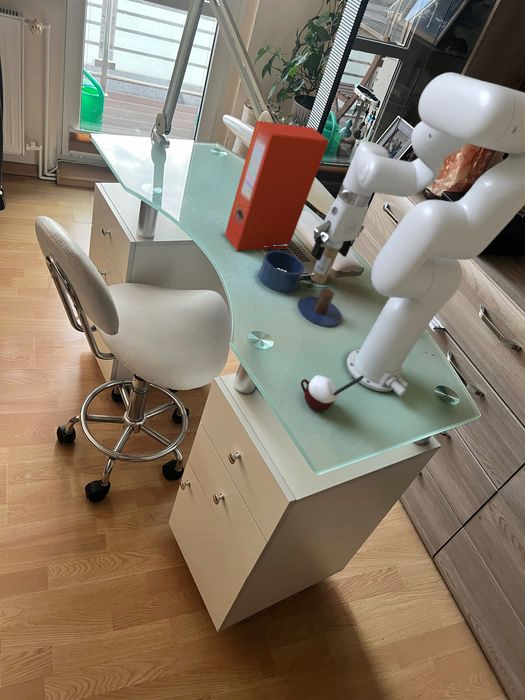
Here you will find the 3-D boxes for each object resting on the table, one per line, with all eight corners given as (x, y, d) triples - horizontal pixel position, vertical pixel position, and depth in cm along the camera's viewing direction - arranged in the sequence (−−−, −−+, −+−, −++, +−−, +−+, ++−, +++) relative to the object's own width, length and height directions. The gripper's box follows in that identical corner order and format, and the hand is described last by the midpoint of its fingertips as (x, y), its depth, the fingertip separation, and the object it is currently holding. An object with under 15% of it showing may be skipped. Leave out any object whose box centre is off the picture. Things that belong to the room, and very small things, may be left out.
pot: (303, 291, 131) (312, 271, 127) (273, 297, 125) (280, 276, 121) (280, 268, 136) (288, 248, 132) (250, 273, 130) (257, 252, 126)
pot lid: (348, 324, 126) (359, 303, 122) (315, 332, 119) (326, 311, 115) (320, 296, 131) (329, 276, 127) (287, 303, 125) (296, 281, 121)
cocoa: (292, 391, 101) (312, 349, 94) (315, 385, 105) (336, 343, 97) (319, 427, 96) (343, 384, 89) (342, 418, 100) (367, 377, 92)
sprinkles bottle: (328, 284, 137) (347, 242, 129) (315, 286, 135) (334, 243, 126) (318, 274, 140) (336, 232, 131) (306, 276, 137) (324, 233, 129)
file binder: (288, 249, 145) (328, 140, 125) (237, 251, 136) (272, 134, 116) (274, 234, 150) (311, 126, 130) (224, 235, 141) (255, 119, 121)
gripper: (339, 205, 114) (313, 267, 125) (387, 202, 124) (359, 260, 135) (319, 189, 118) (295, 250, 129) (367, 187, 128) (341, 245, 139)
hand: (328, 255), depth 132 cm, fingers open, 9 cm apart
